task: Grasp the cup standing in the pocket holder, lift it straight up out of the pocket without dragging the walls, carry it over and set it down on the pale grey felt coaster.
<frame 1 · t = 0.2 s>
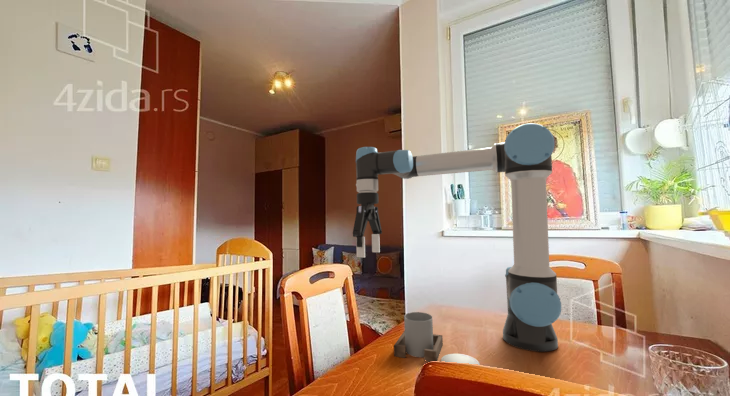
hand: (368, 254, 101), 27 cm above the table, fingers open, 13 cm apart
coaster: (460, 363, 81), on the table
pocket holder: (419, 350, 89), on the table
cup: (419, 351, 89), on the table
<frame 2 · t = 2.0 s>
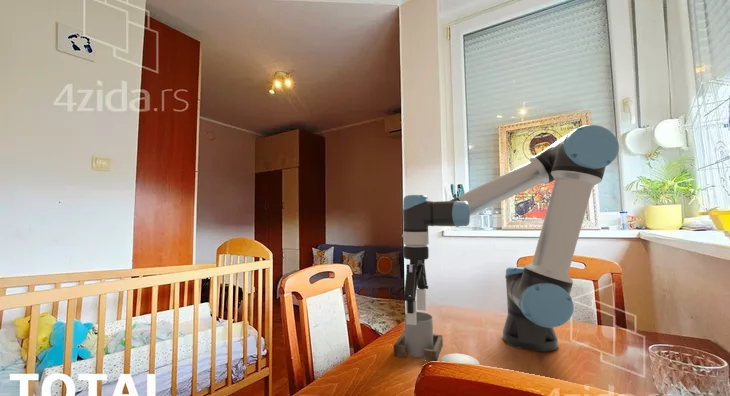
hand: (416, 316, 90), 10 cm above the table, fingers open, 13 cm apart
nothing on the table moved.
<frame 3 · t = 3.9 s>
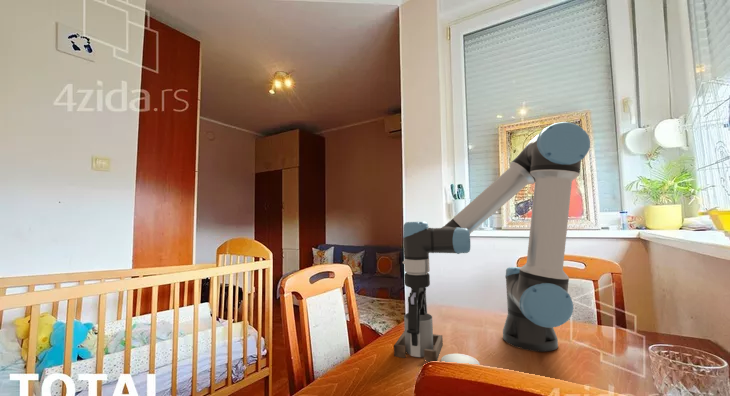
hand: (419, 349, 89), 0 cm above the table, fingers closed on cup, 8 cm apart
cup: (419, 351, 89), on the table, touching gripper
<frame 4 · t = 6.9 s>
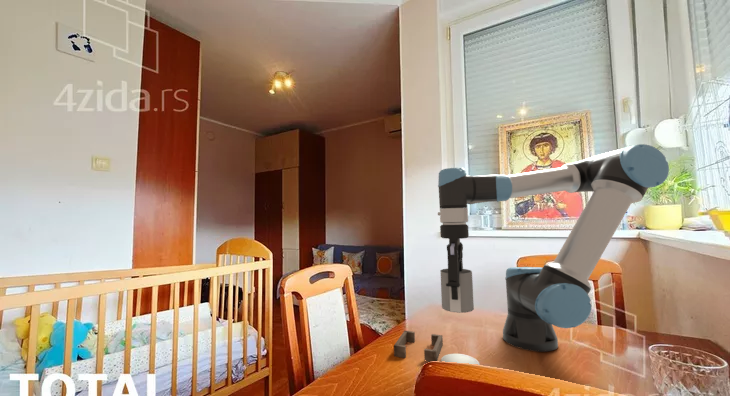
hand: (457, 306, 82), 15 cm above the table, fingers closed on cup, 8 cm apart
cup: (457, 308, 82), point 15 cm above the table, touching gripper
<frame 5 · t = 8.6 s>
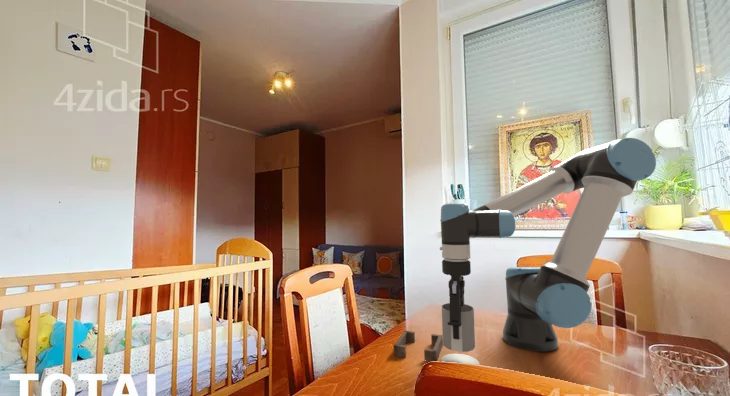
hand: (458, 343, 81), 5 cm above the table, fingers closed on cup, 8 cm apart
cup: (458, 345, 81), point 5 cm above the table, touching gripper
when the fingers open (2 cm above the table, at t = 10.1 s): cup drops 2 cm, resting on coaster.
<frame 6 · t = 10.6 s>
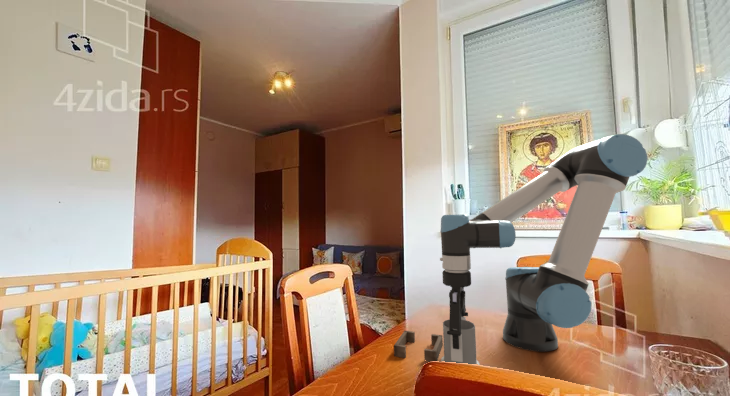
hand: (459, 349, 81), 4 cm above the table, fingers open, 13 cm apart
cup: (460, 362, 81), resting on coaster
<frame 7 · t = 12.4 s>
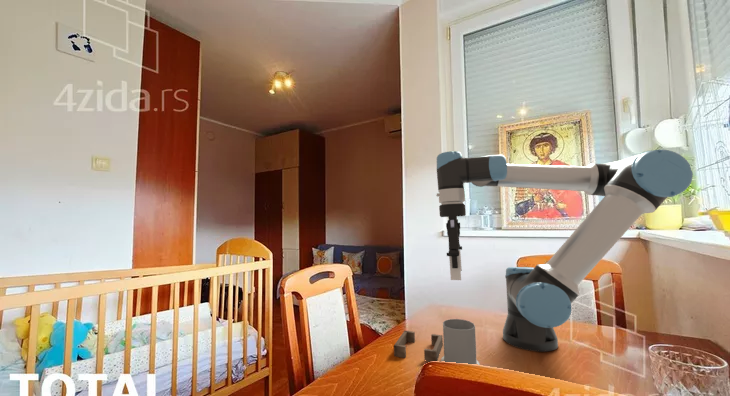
hand: (456, 275, 88), 22 cm above the table, fingers open, 13 cm apart
nothing on the table moved.
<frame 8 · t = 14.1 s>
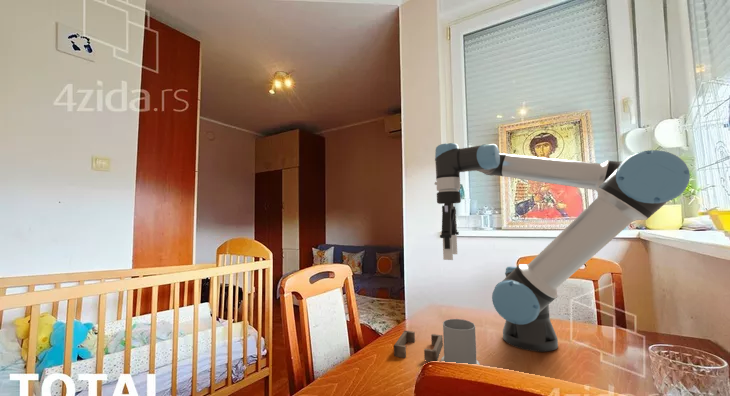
hand: (450, 256, 96), 27 cm above the table, fingers open, 13 cm apart
nothing on the table moved.
at the end: cup 0.1 cm from the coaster (horizontally); cup tilted 0°; cup resting on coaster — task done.
